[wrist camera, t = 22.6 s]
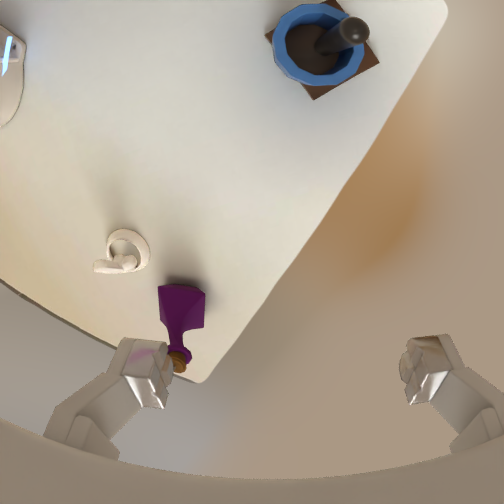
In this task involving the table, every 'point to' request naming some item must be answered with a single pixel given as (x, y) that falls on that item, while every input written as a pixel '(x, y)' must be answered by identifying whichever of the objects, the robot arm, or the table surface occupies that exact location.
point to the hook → (121, 261)
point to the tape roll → (324, 19)
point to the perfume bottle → (180, 318)
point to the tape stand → (326, 47)
